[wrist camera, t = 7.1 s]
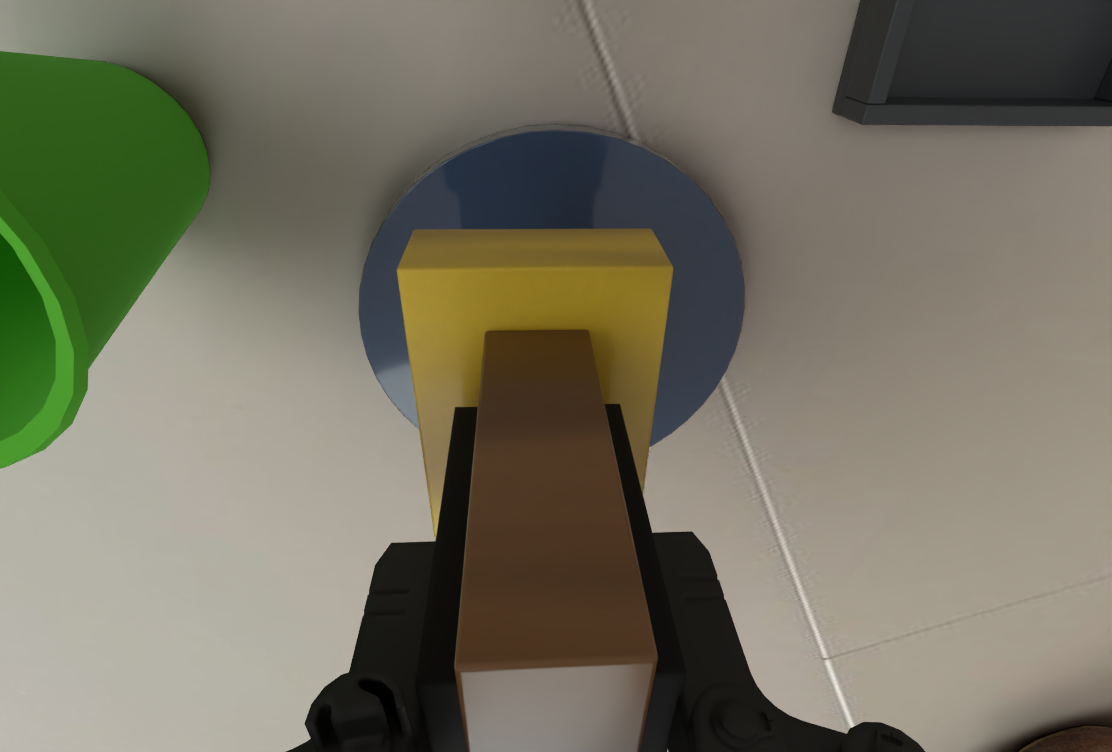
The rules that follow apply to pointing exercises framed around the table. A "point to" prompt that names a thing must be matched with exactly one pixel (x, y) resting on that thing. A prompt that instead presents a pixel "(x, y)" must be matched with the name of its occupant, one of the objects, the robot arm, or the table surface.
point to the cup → (80, 225)
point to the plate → (570, 203)
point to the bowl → (1074, 741)
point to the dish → (979, 63)
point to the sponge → (542, 470)
